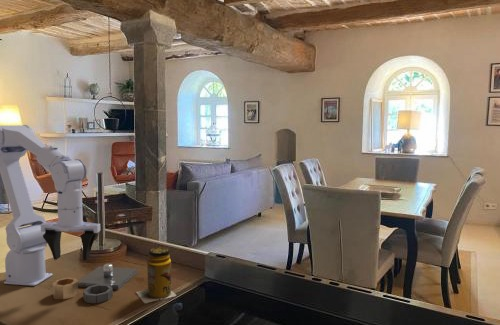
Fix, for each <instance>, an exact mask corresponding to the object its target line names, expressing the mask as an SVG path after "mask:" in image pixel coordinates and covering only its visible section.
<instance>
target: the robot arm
mask: <svg viewBox="0 0 500 325" xmlns="http://www.w3.org/2000/svg"><path fill="white" fill-rule="evenodd" d="M28 152H29V153H31V154H33V155H34V156H36V161H37V163H38V164H39V165H40V166H42V167H43V168H44V169H45V170H47V171H48V172H49V173H50V176H51V179H52V181H53V182H54V184H53V185H54V189H55V191H56V192H57V194H56V195H57V198H56V199H57V221H55V222H54V221H53V222H52V221H51V222H47V221H46V219H45V217H44V216H43V215H40V214H38V213H36V212H35V211H34V207H33V204H32V200H31V197H30V194H29V191H28V190H29V189H28V188H27V184H26V181H25V177H24V174H23V170H22V167H21V163H20V159H21V158H23V157H24V156H26V154H27V153H28ZM86 166H87V165H86V164H85V163H84V162H83V161H82V159H80V158H75V159H74V158H70V156H69V155H67V154H65V153H63V152H62V151H61V150H60V149H59V147H58V146H57V145H46V143H44V142H43V141H42V140H41V139H40V138H38V136H36V135H35V129H34V128H32V127H31V126H29V125H28V124H23V125H17V124H16V125H0V177H1V180H2V184H3V187H4V190H5V194H6V196H7V200H8V204H9V207H10V210H11V214H12V217H13V218H12V219H11V220H10V221H9V222H8V223H7V225H6V227H5V235H6V239H5V240H6V244H7V248H9V249H10V250H9V251H8V252H7V253H6V255H5V259H4V264H5V265H4V266H5V281H3V284H5V285H20V286H29V287H35V286H37V285H39V284H40V283H42V282H43V281H46V280H47V279H49V278H51V277H52V276H53V275H54V274H53V273H51V272H46V255H45V254H46V252H45V250H46V249H45V248H47V247H49V249H50V252H51V255H52V257H53V258H52V259H53V260H55V261H56V260H58V259H60V258H61V255H62V254H61V252H62V251H61V239H62V233H63V232H69V233H70V232H73V233H76V232H77V233H79V232H80V233H81V232H82V234H81V235H80V238H81V245H82V260H83V261H88V260H89V259H90V256H91V250H92V247H93V244H94V242H95V240H96V237H97V235H98V233H100V231H101V223H95V222H87V221H84V220H83V218H84V217H83V214H84V213H83V181H84V180H85V179H86V178H87V173H88V171H87V167H86Z"/></svg>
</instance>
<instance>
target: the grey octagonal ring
mask: <svg viewBox="0 0 500 325" xmlns="http://www.w3.org/2000/svg"><path fill="white" fill-rule="evenodd" d="M113 291H114V289H113V288H112V287H111V286H110V285H106V284H98V285H93V286H89V287H85V289H83V291H82V293H83V294H82V295H83V297H82V298H83V300H84V302H85V303H88V304H99V303H103V302H107V301H109V300H110V299H111V298H112V297H113V296H114V294H113V293H114V292H113ZM100 292H102V293H100Z"/></svg>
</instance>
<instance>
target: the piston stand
mask: <svg viewBox="0 0 500 325" xmlns="http://www.w3.org/2000/svg"><path fill="white" fill-rule="evenodd" d="M137 273H138V268H129V267H116V266H115V267H114V265H113V263H105V264H103V266H102V265H100V266H98V267H96V268H94V270H92V271H91V272H89V273H87V274H86V275H85V276H84V277H82V278H80V279H79V280H78V288H88V287H89V286H93V285H98V284H106V285H110V286H111V287H112V288H113V290H117V291H119V290H120V289H121V288H122V287H123V286H124V285H126V283H128V282H129V281H130V280H131V279H132V278H133V277H134V276H135V275H137Z"/></svg>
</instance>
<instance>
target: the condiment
mask: <svg viewBox="0 0 500 325" xmlns="http://www.w3.org/2000/svg"><path fill="white" fill-rule="evenodd" d="M170 254H171V253H170V249H169V248H168V247H163V246H159V247H153V248H151V249H149V252H148V260H147V262H146V263H147V289H145V290H140V291H135V292H136V295H137V296H138V298H140V300H141V301H142V302H143V303H144V304H148V303H152V302H157V301H161V300H165V299H169V298H173V297H176V296H177V294H176V293H175V292H174V291H172V260H171V258H170ZM161 298H162V299H161ZM159 299H160V300H159Z"/></svg>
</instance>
